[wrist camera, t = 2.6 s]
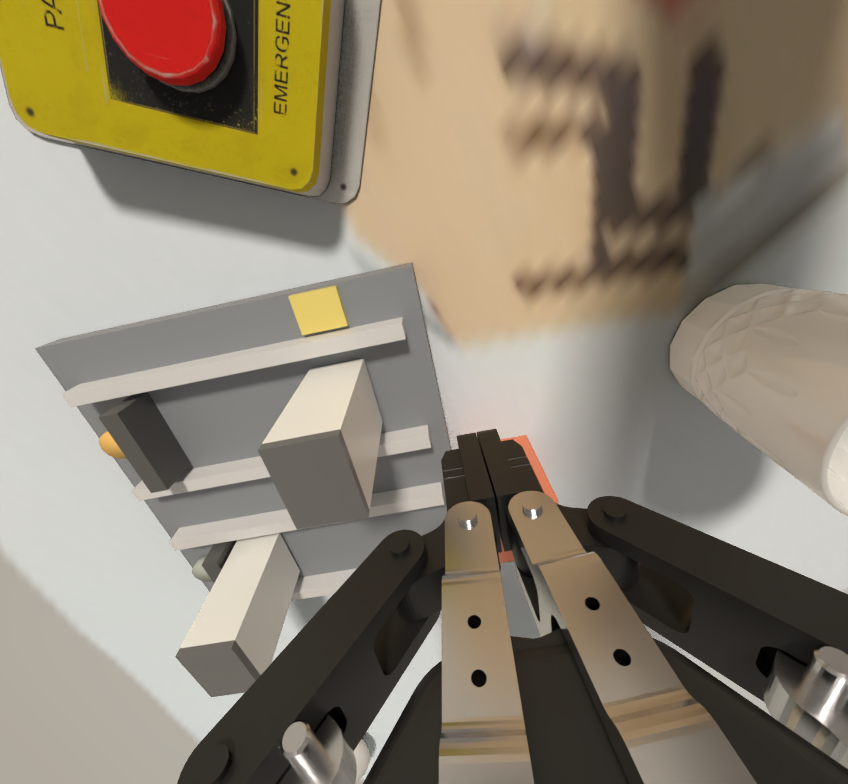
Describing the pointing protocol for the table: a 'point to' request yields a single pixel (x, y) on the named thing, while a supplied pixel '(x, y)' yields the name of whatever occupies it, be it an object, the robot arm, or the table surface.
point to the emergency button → (201, 84)
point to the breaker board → (262, 415)
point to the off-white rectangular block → (326, 446)
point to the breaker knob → (241, 617)
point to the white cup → (775, 376)
